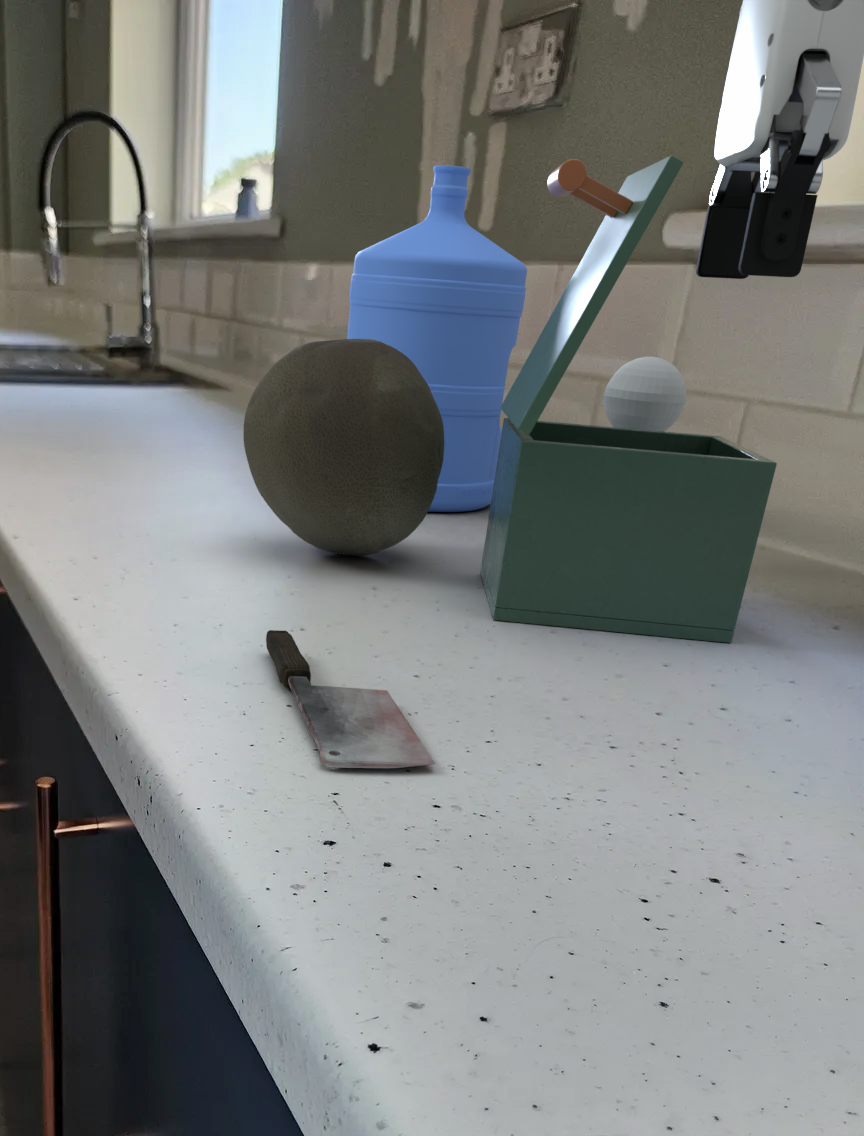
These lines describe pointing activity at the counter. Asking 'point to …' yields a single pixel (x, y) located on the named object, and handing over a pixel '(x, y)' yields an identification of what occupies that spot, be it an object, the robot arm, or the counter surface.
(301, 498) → the cantaloupe
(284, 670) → the cleaver
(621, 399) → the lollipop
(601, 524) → the green box
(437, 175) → the water jug
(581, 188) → the lid
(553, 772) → the counter surface
